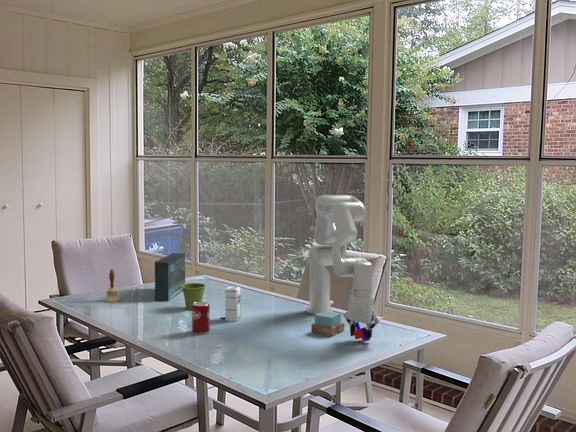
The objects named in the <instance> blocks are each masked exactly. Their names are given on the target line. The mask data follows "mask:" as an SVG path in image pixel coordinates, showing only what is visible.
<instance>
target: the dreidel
mask: <svg viewBox="0 0 576 432" xmlns="http://www.w3.org/2000/svg"><path fill="white" fill-rule="evenodd" d="M355 326H356V330H355V331H353V333H354V339H355V340H358V339H361V341H362V343H364V342H368V341H371V338H370V339H368V340H367V339H366V330H367V326H364V327H362V328H361V326H360V322H355Z"/></svg>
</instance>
